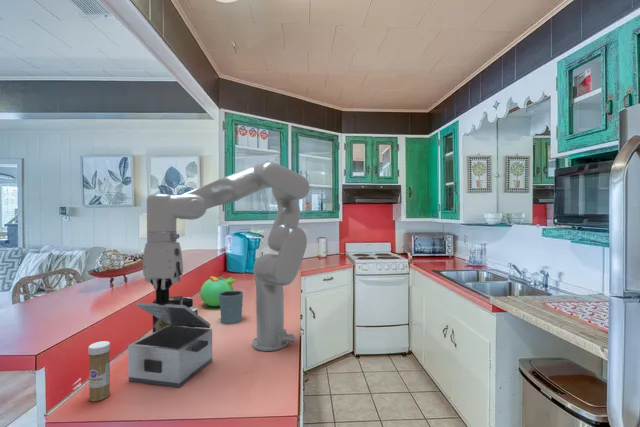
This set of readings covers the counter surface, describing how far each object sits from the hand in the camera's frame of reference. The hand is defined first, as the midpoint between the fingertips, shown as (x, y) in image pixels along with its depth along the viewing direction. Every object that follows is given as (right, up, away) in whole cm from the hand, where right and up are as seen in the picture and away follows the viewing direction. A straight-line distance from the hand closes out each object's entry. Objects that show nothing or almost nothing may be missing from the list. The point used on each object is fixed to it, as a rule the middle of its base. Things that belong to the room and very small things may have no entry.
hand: (162, 302), depth 91 cm
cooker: (+1, -21, +4) cm, 21 cm away
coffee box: (-10, -21, +24) cm, 34 cm away
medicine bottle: (-10, -21, +39) cm, 46 cm away
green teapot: (-7, -21, +72) cm, 75 cm away
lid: (+1, -6, +5) cm, 8 cm away
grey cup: (+6, -21, +48) cm, 53 cm away
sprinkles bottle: (-11, -22, -10) cm, 26 cm away
